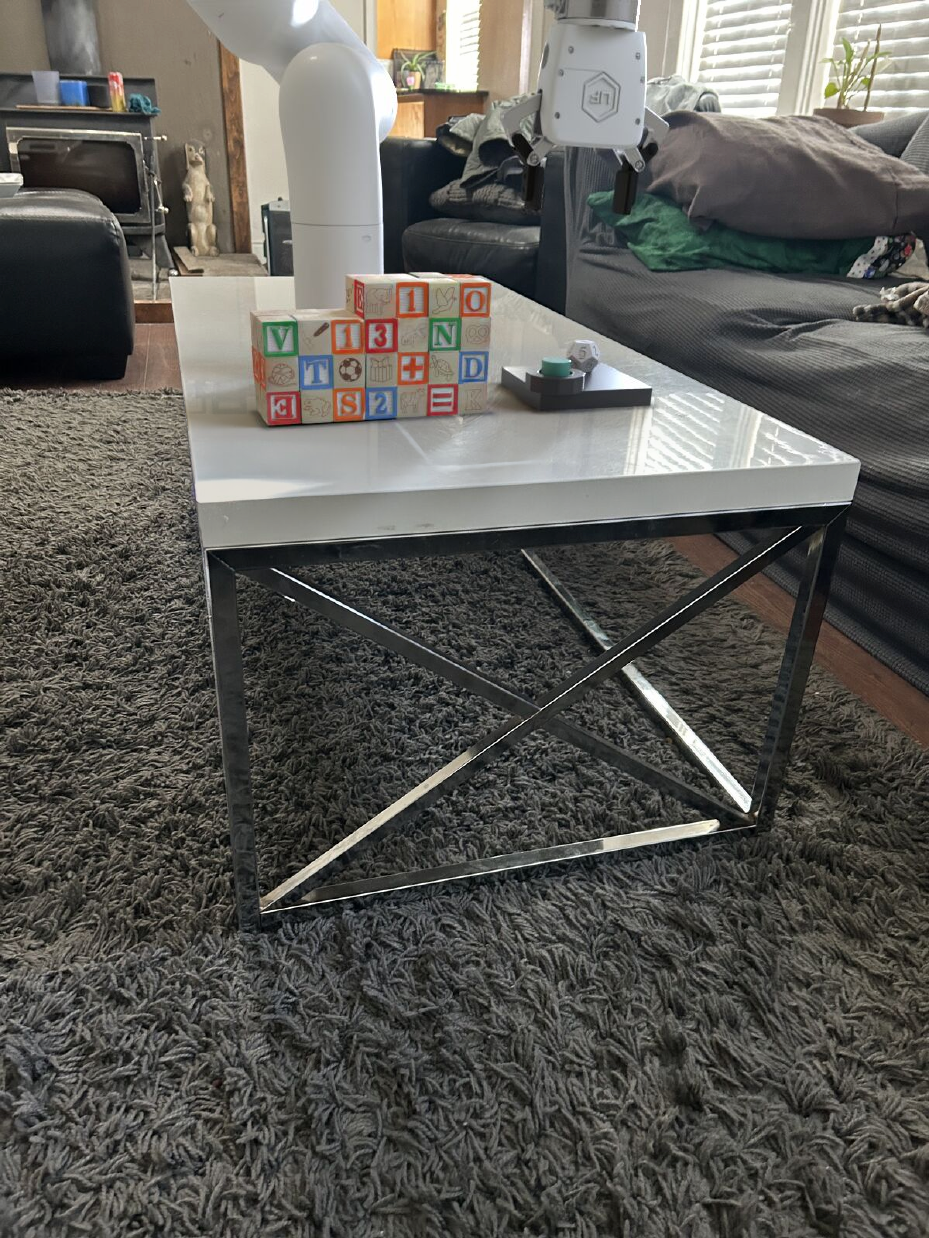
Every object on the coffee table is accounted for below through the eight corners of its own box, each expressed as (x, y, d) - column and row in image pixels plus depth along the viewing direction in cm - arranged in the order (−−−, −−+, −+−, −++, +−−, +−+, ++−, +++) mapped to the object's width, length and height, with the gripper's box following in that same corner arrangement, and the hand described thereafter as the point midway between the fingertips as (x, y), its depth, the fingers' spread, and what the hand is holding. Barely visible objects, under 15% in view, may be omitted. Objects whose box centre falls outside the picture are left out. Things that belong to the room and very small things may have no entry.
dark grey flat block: (536, 416, 92) (538, 379, 91) (493, 385, 104) (494, 352, 102) (656, 410, 96) (660, 374, 94) (602, 380, 107) (605, 348, 105)
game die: (576, 375, 100) (579, 346, 99) (558, 367, 103) (560, 339, 102) (605, 372, 102) (607, 344, 100) (586, 365, 105) (589, 337, 103)
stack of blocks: (266, 428, 86) (257, 284, 80) (255, 411, 91) (245, 275, 85) (488, 413, 93) (493, 279, 87) (465, 398, 98) (469, 271, 92)
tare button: (547, 379, 92) (548, 363, 92) (536, 373, 95) (537, 357, 94) (573, 378, 93) (575, 362, 92) (563, 372, 95) (564, 356, 95)
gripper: (523, -2, 83) (507, 212, 90) (700, 17, 88) (671, 219, 95) (496, 7, 89) (484, 205, 97) (663, 24, 94) (638, 212, 102)
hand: (577, 212), depth 96 cm, fingers open, 9 cm apart
